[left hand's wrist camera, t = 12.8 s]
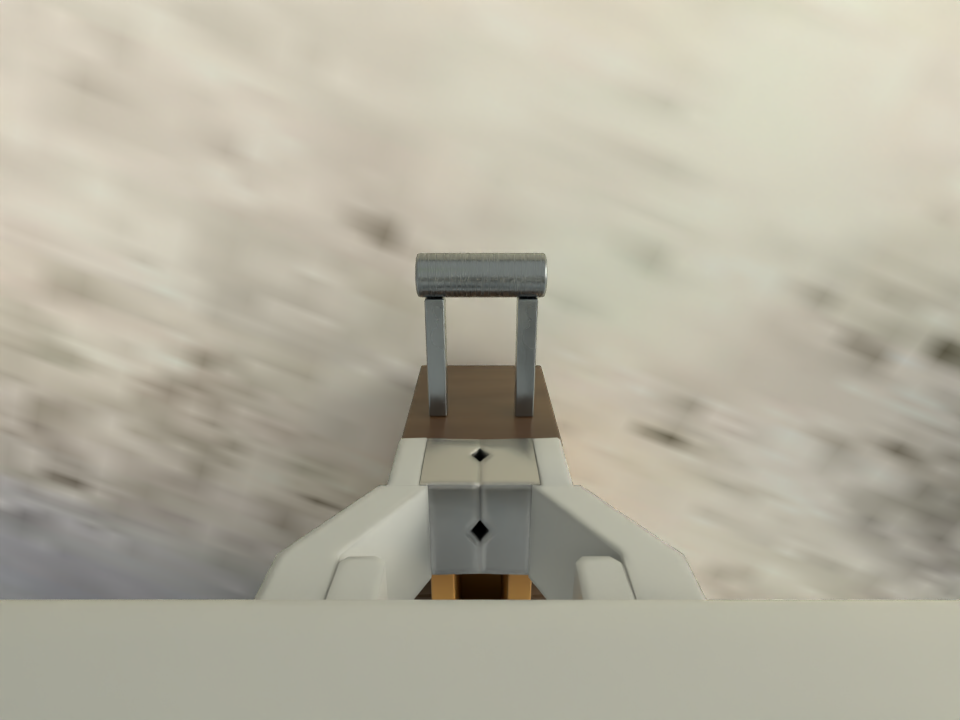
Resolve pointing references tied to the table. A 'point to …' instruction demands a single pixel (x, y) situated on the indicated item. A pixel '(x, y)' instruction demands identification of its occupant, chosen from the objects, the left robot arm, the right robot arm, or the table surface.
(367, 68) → the table surface
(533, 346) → the drawer
